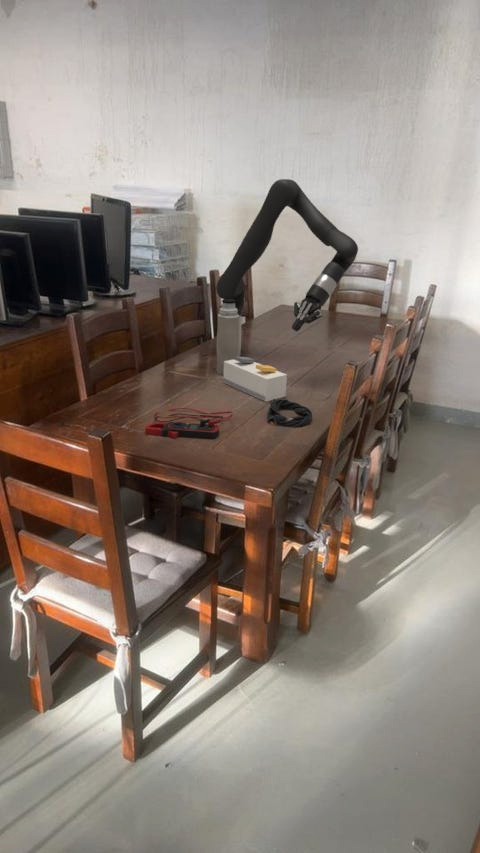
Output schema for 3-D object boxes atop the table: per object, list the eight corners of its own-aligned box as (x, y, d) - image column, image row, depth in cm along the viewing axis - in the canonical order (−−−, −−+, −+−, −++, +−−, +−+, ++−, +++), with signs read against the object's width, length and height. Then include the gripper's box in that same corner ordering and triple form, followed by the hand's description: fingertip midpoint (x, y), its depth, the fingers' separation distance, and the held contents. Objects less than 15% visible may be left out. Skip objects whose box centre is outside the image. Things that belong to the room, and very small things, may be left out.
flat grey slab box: (233, 360, 211) (234, 356, 211) (246, 361, 215) (247, 357, 214) (240, 363, 208) (241, 359, 208) (253, 364, 212) (254, 359, 212)
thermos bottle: (222, 368, 232) (223, 296, 221) (240, 371, 229) (243, 299, 218) (213, 373, 226) (214, 300, 214) (232, 376, 223) (234, 302, 211)
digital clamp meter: (227, 430, 167) (141, 423, 169) (227, 444, 169) (141, 437, 171) (236, 400, 189) (159, 395, 191) (236, 413, 190) (160, 408, 192)
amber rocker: (255, 369, 203) (256, 364, 202) (267, 370, 206) (268, 365, 206) (262, 372, 200) (263, 367, 199) (275, 373, 204) (276, 368, 203)
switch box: (222, 382, 216) (222, 361, 213) (242, 377, 222) (243, 357, 219) (264, 401, 199) (266, 379, 196) (285, 396, 205) (286, 374, 202)
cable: (271, 405, 197) (272, 393, 195) (313, 409, 195) (314, 397, 193) (264, 425, 182) (265, 412, 180) (309, 430, 180) (311, 416, 178)
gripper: (303, 279, 212) (276, 319, 211) (330, 288, 203) (302, 330, 203) (312, 291, 217) (286, 329, 217) (339, 300, 209) (312, 340, 208)
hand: (294, 329), depth 210 cm, fingers closed
